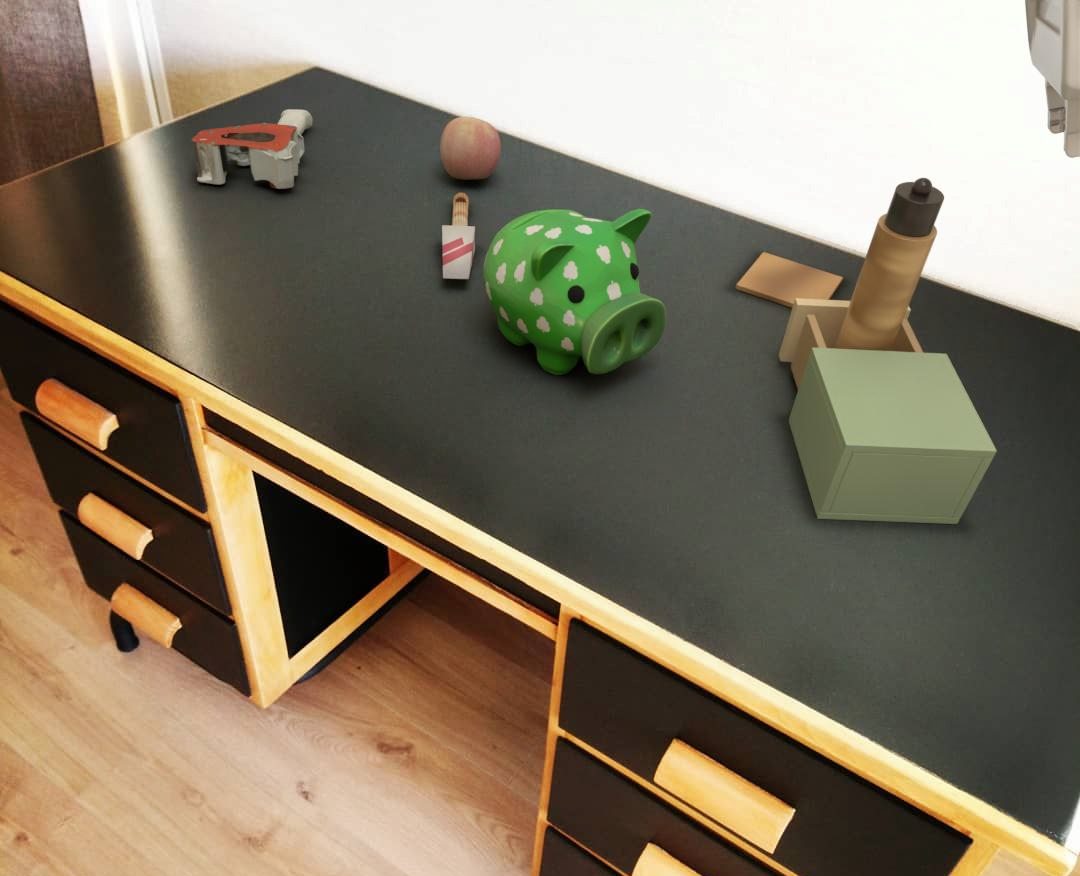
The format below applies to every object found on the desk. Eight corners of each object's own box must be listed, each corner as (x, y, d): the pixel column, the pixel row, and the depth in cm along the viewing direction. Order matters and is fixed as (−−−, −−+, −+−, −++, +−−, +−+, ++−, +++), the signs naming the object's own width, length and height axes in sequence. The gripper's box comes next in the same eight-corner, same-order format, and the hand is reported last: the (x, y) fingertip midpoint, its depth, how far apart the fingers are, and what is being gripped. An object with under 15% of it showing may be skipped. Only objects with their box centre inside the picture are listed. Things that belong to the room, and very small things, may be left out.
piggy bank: (566, 417, 90) (580, 278, 79) (455, 328, 99) (455, 192, 88) (671, 367, 97) (697, 232, 86) (558, 287, 106) (569, 157, 95)
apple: (510, 188, 122) (512, 126, 116) (457, 199, 119) (457, 136, 113) (482, 162, 126) (483, 102, 120) (431, 172, 123) (429, 110, 118)
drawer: (776, 348, 99) (792, 291, 94) (882, 353, 99) (904, 296, 94) (802, 432, 89) (822, 373, 84) (919, 437, 90) (946, 379, 85)
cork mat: (841, 281, 110) (843, 277, 110) (818, 316, 105) (819, 312, 104) (762, 256, 113) (763, 251, 113) (735, 289, 108) (736, 284, 107)
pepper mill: (880, 381, 94) (962, 175, 78) (866, 407, 91) (948, 198, 75) (832, 364, 95) (903, 159, 80) (817, 389, 92) (887, 181, 77)
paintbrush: (437, 265, 102) (446, 187, 116) (438, 288, 103) (446, 209, 118) (473, 266, 102) (477, 189, 116) (473, 289, 104) (477, 210, 118)
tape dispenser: (306, 135, 132) (169, 160, 122) (302, 95, 129) (161, 118, 118) (374, 178, 123) (232, 209, 112) (373, 136, 119) (226, 164, 109)
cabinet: (788, 420, 92) (811, 347, 85) (914, 425, 92) (946, 353, 86) (817, 519, 82) (846, 444, 76) (957, 524, 83) (997, 451, 77)
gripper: (1162, -75, 57) (1143, 162, 63) (1103, -77, 73) (1094, 112, 80) (1044, -46, 59) (1039, 179, 66) (1013, -55, 75) (1011, 127, 82)
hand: (1069, 142), depth 73 cm, fingers open, 8 cm apart
